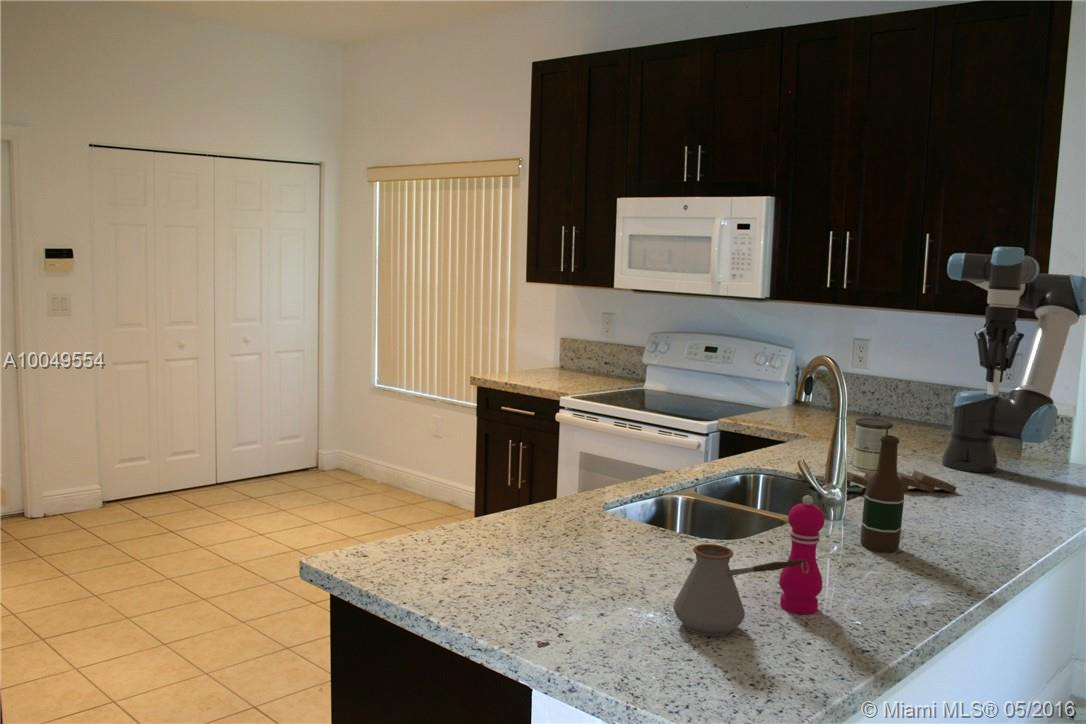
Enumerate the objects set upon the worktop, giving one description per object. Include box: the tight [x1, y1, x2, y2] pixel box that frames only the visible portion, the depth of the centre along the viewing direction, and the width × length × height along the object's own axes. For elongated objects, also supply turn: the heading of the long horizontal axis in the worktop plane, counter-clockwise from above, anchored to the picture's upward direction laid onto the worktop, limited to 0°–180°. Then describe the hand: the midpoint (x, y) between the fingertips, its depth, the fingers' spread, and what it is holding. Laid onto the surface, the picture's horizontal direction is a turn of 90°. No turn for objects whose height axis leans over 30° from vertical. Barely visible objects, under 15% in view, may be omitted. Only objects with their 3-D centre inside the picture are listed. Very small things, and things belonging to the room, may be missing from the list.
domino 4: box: [863, 470, 910, 493], centre depth 243 cm, size 2×5×10 cm
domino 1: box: [814, 475, 851, 488], centre depth 241 cm, size 2×5×10 cm
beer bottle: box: [860, 435, 905, 554], centre depth 192 cm, size 8×8×24 cm
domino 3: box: [847, 482, 864, 492], centre depth 241 cm, size 2×5×10 cm
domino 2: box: [847, 471, 869, 488], centre depth 241 cm, size 2×5×10 cm
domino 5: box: [897, 472, 936, 493], centre depth 243 cm, size 2×5×10 cm
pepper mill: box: [778, 494, 825, 615], centre depth 157 cm, size 7×7×20 cm
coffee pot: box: [672, 543, 809, 637], centre depth 145 cm, size 21×12×15 cm, turn 53°
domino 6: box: [911, 470, 957, 494], centre depth 243 cm, size 2×5×10 cm
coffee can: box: [851, 417, 894, 473], centre depth 264 cm, size 10×10×14 cm
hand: (992, 394), depth 243 cm, fingers closed
